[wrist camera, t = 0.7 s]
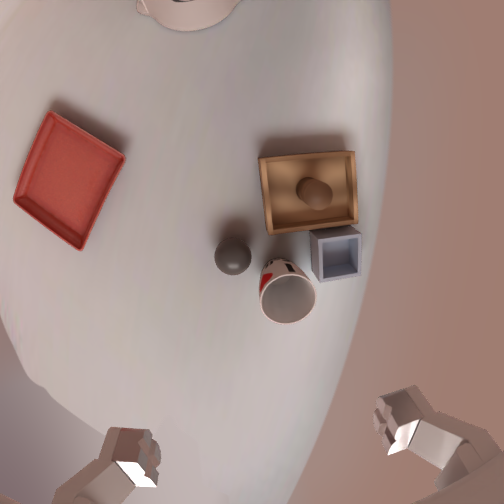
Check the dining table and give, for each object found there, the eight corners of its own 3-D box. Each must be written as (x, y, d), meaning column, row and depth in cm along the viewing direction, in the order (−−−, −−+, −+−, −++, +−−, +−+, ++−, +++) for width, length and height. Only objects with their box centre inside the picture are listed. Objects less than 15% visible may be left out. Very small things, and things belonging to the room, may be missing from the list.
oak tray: (257, 158, 44) (260, 158, 41) (346, 150, 45) (354, 151, 41) (266, 229, 48) (268, 235, 45) (350, 218, 49) (358, 223, 45)
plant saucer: (20, 198, 43) (10, 201, 40) (57, 109, 38) (47, 108, 35) (89, 247, 47) (81, 253, 44) (134, 156, 43) (128, 156, 40)
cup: (290, 241, 49) (304, 264, 40) (308, 280, 52) (324, 309, 42) (245, 262, 50) (250, 290, 40) (266, 300, 53) (274, 332, 43)
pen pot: (309, 230, 49) (317, 239, 44) (349, 225, 49) (361, 233, 44) (311, 270, 51) (319, 282, 47) (350, 264, 51) (361, 275, 47)
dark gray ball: (212, 236, 48) (210, 247, 43) (247, 231, 48) (250, 242, 43) (218, 268, 50) (217, 283, 44) (252, 264, 50) (255, 278, 45)
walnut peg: (294, 178, 45) (304, 182, 39) (319, 175, 45) (331, 180, 39) (296, 203, 46) (306, 211, 41) (321, 200, 46) (333, 208, 41)
